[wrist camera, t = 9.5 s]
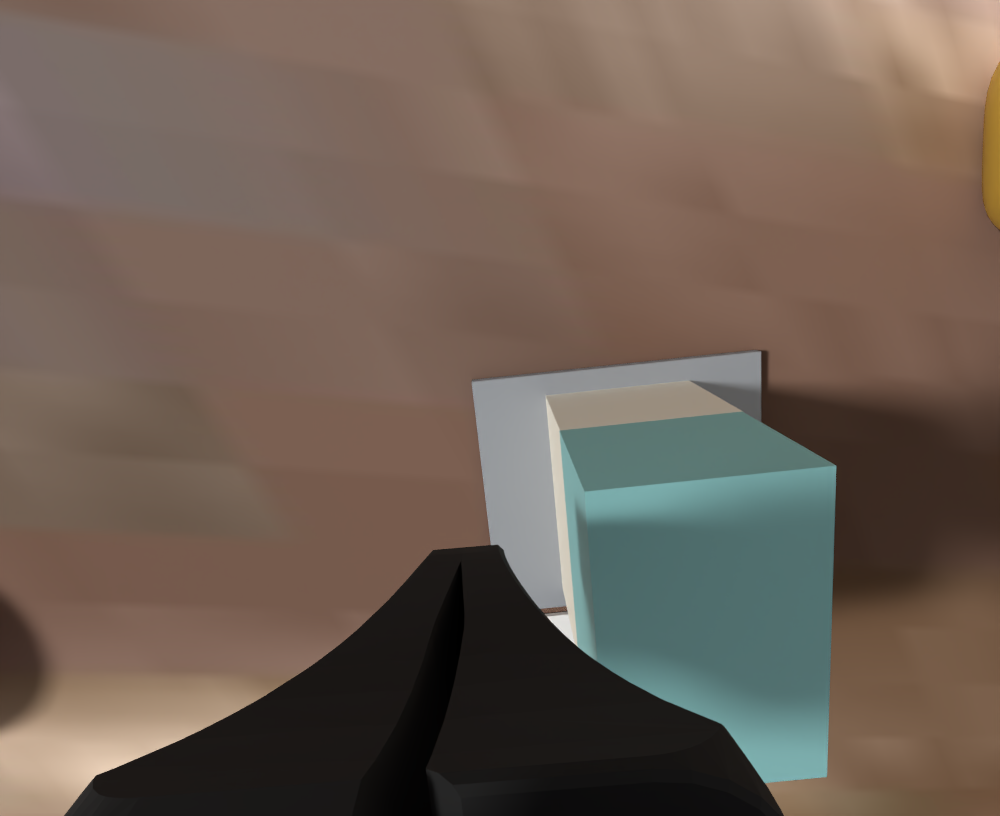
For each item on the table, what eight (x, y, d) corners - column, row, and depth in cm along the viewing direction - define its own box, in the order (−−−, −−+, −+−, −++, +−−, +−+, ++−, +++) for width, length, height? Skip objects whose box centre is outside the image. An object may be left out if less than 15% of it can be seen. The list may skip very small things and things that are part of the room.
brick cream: (694, 575, 22) (744, 650, 18) (562, 588, 22) (580, 667, 18) (689, 380, 20) (743, 411, 16) (545, 395, 20) (560, 430, 16)
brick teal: (744, 651, 18) (826, 776, 13) (579, 667, 18) (607, 798, 13) (742, 411, 16) (836, 465, 12) (559, 430, 16) (584, 491, 12)
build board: (756, 580, 23) (761, 586, 22) (498, 606, 23) (498, 612, 22) (756, 350, 21) (761, 351, 20) (472, 379, 21) (471, 381, 20)
